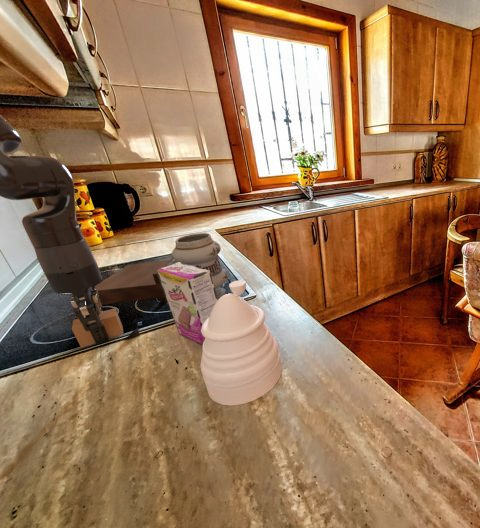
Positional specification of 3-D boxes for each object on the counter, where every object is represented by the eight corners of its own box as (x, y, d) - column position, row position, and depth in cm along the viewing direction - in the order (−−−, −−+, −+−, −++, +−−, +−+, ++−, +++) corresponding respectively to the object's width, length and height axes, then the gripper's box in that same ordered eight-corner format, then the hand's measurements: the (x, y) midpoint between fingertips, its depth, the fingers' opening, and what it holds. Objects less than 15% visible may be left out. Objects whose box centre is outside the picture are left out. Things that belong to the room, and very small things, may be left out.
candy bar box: (177, 335, 63) (155, 269, 57) (197, 324, 67) (179, 261, 61) (207, 349, 58) (187, 278, 52) (228, 336, 62) (211, 269, 56)
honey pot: (261, 343, 59) (246, 265, 52) (295, 374, 50) (282, 286, 43) (197, 376, 51) (169, 289, 44) (223, 420, 42) (194, 319, 35)
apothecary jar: (179, 298, 80) (161, 238, 73) (221, 283, 88) (207, 228, 81) (195, 312, 72) (176, 247, 65) (239, 294, 80) (226, 235, 73)
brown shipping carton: (81, 356, 57) (68, 330, 55) (82, 345, 61) (70, 320, 58) (139, 335, 63) (130, 311, 61) (138, 327, 67) (128, 303, 64)
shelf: (94, 311, 75) (81, 281, 71) (134, 280, 93) (125, 255, 90) (167, 303, 77) (157, 273, 74) (192, 274, 96) (185, 250, 92)
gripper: (48, 260, 57) (82, 329, 64) (36, 281, 47) (77, 361, 53) (95, 251, 62) (122, 316, 68) (94, 268, 51) (126, 344, 58)
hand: (102, 335), depth 61 cm, fingers closed on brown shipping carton, 4 cm apart
